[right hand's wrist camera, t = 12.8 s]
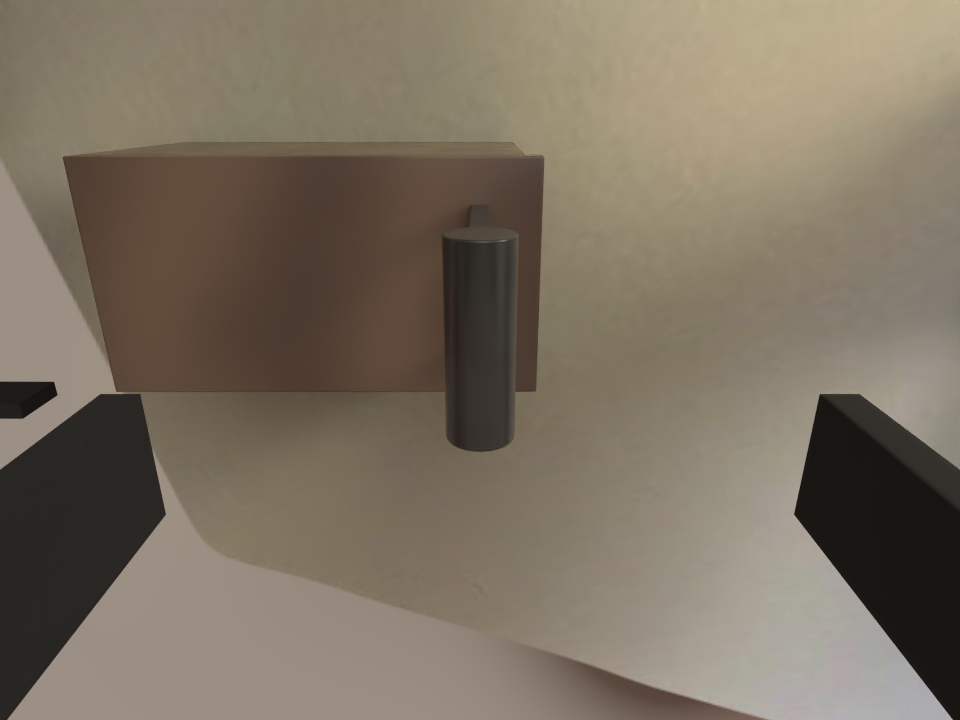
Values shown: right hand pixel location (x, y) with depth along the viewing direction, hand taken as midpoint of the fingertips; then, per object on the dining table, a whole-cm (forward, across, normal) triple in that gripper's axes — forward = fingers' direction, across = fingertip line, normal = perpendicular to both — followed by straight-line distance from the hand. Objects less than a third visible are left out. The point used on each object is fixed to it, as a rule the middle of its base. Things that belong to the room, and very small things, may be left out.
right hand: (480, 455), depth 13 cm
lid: (+14, -6, 0) cm, 16 cm away
